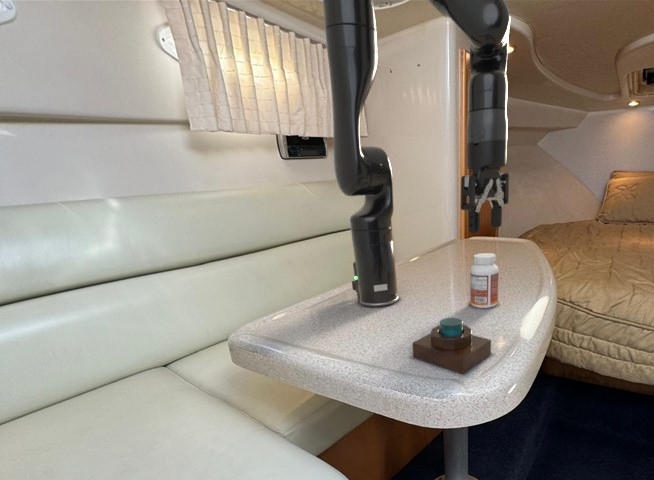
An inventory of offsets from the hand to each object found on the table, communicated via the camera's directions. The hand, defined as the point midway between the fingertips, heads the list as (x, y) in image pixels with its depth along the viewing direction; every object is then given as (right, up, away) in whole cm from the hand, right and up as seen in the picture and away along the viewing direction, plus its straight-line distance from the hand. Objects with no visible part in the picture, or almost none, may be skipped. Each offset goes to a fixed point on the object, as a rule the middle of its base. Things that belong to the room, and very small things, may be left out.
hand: (485, 229), depth 76 cm
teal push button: (-9, -23, -17) cm, 30 cm away
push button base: (-8, -26, -16) cm, 32 cm away
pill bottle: (+1, -15, +7) cm, 17 cm away
